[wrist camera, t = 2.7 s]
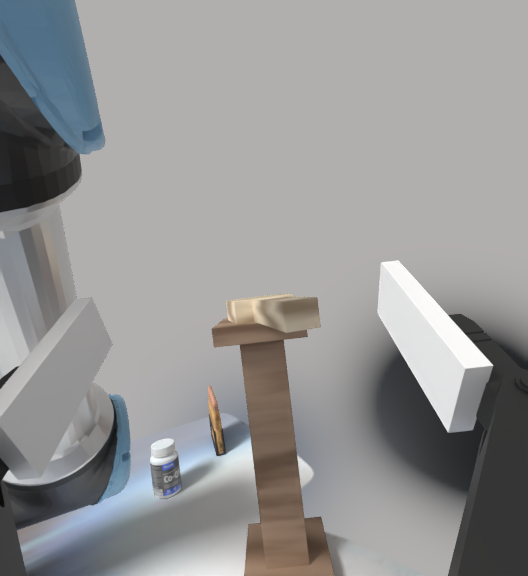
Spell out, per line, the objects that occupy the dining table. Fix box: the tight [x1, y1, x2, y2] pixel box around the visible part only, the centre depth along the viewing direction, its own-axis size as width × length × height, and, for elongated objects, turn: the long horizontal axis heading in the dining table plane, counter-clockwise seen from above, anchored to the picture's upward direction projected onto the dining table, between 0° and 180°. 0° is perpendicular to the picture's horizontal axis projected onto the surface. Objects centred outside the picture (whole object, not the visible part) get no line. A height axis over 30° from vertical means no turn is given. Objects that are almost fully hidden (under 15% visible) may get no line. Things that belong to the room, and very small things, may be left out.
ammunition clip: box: [208, 386, 226, 456], centre depth 74 cm, size 11×2×12 cm, turn 15°
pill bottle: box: [150, 439, 181, 499], centre depth 58 cm, size 5×5×8 cm
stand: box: [212, 318, 334, 576], centre depth 40 cm, size 10×10×30 cm
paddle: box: [226, 294, 321, 333], centre depth 35 cm, size 17×7×2 cm, turn 15°
